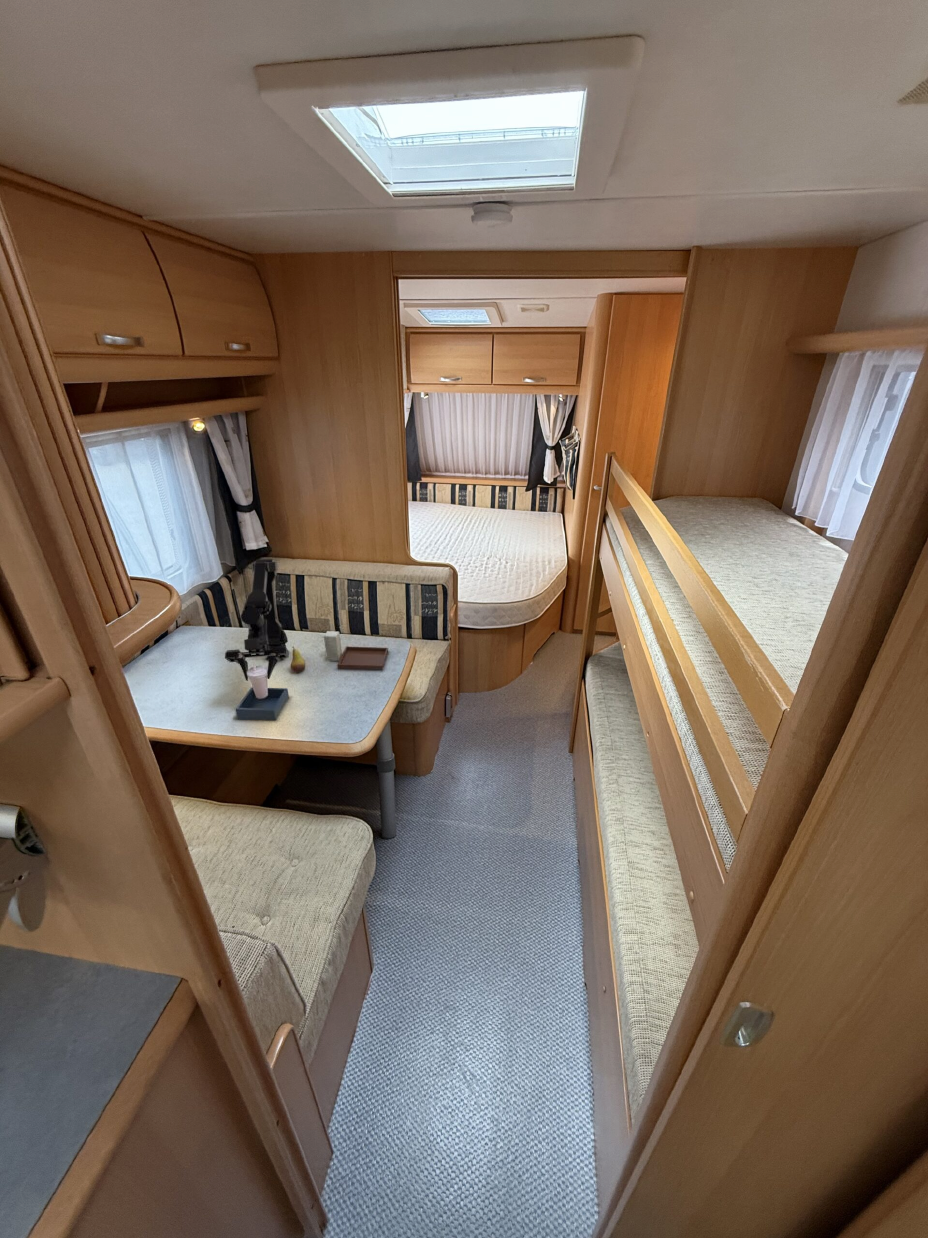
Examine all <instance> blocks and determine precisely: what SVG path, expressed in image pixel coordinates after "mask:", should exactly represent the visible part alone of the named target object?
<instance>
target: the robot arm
mask: <svg viewBox="0 0 928 1238" xmlns="http://www.w3.org/2000/svg"><path fill="white" fill-rule="evenodd" d="M278 564H279V563H278V561H275V560H274V558H263V559H262V558H261V559H256V560H255V561H254V562H251V571H252V573H253V577H252V585H251V587H252V588H251V592H250V593H248V595H247V596H246V601H245V602H244V604H243V608H242V611H241V614H240V619H241V622H243V624H244V625H245V627H246V628H247V629H248V635H247V638H246V639H244V640H243V643H244V650H245V651H241V650H240V649H227V650H226V651H225V653H224V659H225V660H226V661H227V662H228V663H236V664H237V665H239V666H240V668H241V670H242V673H243V676H244V679H245V681H246V682H248V681H249V677H248V676H247V671H248V670H249V663H248V661H247V660H246V659H249V658H260V657H262V658H263V657H266V658H265V660H266V661H268V662H267V663H268V665H267V669H268V672H267V680H270V679H271V676H272V674H273V671H274V669H275V667H276V666H277V664H278V662H280V661H283V660H284V659H289V658H290V654H289V649H288V648H287V644H288V642H289V640H288V636H287V633H286V631H285V630H284V629H283V624H282V623H281V622H280V621H279V620H278V615H277V605H276V596H275V586H274V581H275V579H276V578H277V576H278V571H279V565H278Z"/></svg>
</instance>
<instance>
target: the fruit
mask: <svg viewBox="0 0 928 1238" xmlns="http://www.w3.org/2000/svg"><path fill="white" fill-rule="evenodd" d="M291 655H292V656H291V657H292V658H291V661H290V668H291V671H292V672H295V673H300V672H303V671H305V669H306V661H305V659H304V658H303V655H302V654H301V653H300V651H299V650H298V649H296V648H295V647H294V646H292V653H291Z"/></svg>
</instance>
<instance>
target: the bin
mask: <svg viewBox="0 0 928 1238" xmlns="http://www.w3.org/2000/svg"><path fill="white" fill-rule="evenodd" d="M289 699H290V695H289V690H288V688H284V687H268V695H267V696H266V697H265V698H262V699H259V698H256V695H255V693H254V690H253V687H252V686H251V687H250V688H249V690H248V691H247V692H246V694H245V695H244V697H243V698H242V700H240V702H239V704H238V705H237V706H236V707H235V709H234V710H235V714H236V718H237V720H249V721H250V720H251V721H252V720H253V721H277V719H278V718H279V716H280V715H281V712H282V711H283V709H284V707H285V706H286V703H287V702H288V700H289Z"/></svg>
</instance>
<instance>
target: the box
mask: <svg viewBox="0 0 928 1238" xmlns="http://www.w3.org/2000/svg"><path fill="white" fill-rule="evenodd" d="M340 635H341V634H340V631H331V630H327V631H326V632H325V633H324V635H323V641H324V647H325V655H326V660H327V661H333V662H339V660H340V658H341V656H342V654H343V651H342V643H341V636H340Z"/></svg>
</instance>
